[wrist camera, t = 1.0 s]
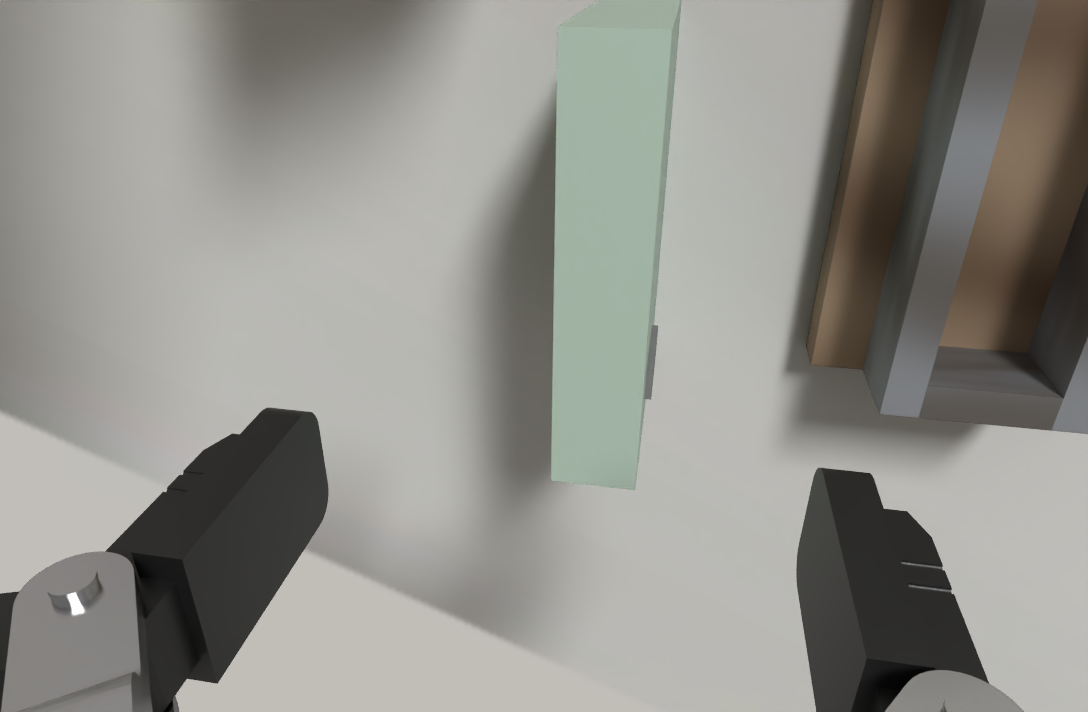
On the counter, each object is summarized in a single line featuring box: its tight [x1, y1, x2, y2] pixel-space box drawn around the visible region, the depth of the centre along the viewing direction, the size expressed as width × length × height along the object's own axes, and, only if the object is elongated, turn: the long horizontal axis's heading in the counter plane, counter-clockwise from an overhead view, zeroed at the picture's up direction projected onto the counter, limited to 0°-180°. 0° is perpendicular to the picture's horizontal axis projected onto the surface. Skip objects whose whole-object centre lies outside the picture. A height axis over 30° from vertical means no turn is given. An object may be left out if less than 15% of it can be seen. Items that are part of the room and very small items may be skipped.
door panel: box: [551, 0, 681, 490], centre depth 23 cm, size 12×3×10 cm, turn 179°
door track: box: [806, 0, 1088, 434], centre depth 21 cm, size 24×10×4 cm, turn 179°
